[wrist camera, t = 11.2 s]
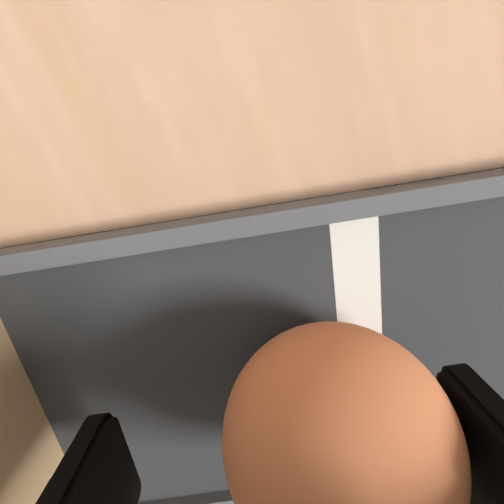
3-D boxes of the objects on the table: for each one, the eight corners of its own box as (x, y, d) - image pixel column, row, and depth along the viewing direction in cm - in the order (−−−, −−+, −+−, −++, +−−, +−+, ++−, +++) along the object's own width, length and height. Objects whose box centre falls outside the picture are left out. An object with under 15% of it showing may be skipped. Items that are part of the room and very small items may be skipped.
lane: (688, 137, 10) (961, 132, 6) (611, 430, 14) (750, 538, 10) (-52, 256, 11) (-216, 318, 7) (69, 503, 14) (7, 631, 11)
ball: (513, 539, 4) (152, 375, 7) (447, 773, 6) (188, 561, 9) (484, 309, 8) (281, 275, 12) (454, 475, 10) (286, 408, 13)
